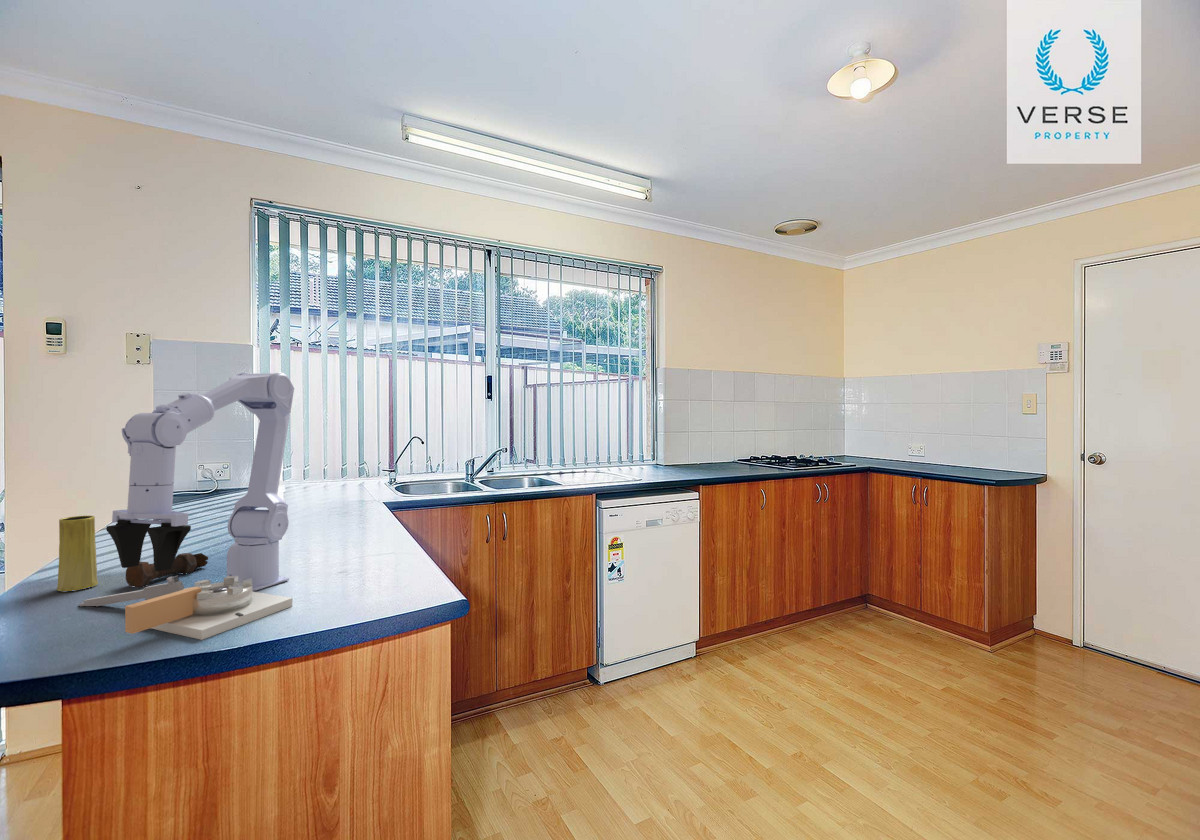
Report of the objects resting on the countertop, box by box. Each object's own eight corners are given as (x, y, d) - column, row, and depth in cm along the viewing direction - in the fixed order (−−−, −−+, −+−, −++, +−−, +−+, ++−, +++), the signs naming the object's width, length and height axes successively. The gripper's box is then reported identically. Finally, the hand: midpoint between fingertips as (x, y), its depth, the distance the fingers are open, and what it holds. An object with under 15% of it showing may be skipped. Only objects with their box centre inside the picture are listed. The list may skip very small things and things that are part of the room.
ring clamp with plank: (227, 591, 102) (227, 570, 102) (265, 598, 98) (265, 576, 98) (109, 628, 84) (108, 602, 84) (150, 637, 81) (149, 611, 81)
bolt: (206, 575, 125) (136, 594, 110) (191, 563, 126) (120, 580, 111) (216, 554, 124) (148, 570, 110) (201, 542, 125) (132, 556, 111)
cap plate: (137, 625, 91) (137, 615, 91) (232, 595, 106) (232, 586, 106) (201, 639, 85) (201, 629, 85) (292, 606, 100) (292, 596, 100)
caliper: (185, 609, 99) (185, 575, 99) (180, 611, 98) (180, 577, 98) (83, 606, 101) (82, 572, 100) (77, 608, 99) (76, 574, 99)
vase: (49, 590, 108) (49, 519, 108) (88, 581, 114) (87, 514, 114) (66, 594, 106) (66, 521, 106) (104, 585, 112) (104, 516, 112)
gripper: (92, 485, 88) (87, 570, 87) (157, 487, 84) (151, 577, 83) (140, 482, 94) (135, 561, 94) (202, 485, 90) (198, 567, 89)
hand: (146, 568), depth 89 cm, fingers open, 7 cm apart
